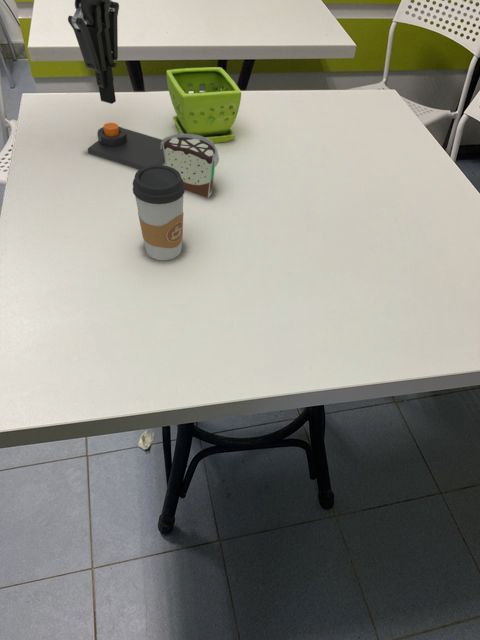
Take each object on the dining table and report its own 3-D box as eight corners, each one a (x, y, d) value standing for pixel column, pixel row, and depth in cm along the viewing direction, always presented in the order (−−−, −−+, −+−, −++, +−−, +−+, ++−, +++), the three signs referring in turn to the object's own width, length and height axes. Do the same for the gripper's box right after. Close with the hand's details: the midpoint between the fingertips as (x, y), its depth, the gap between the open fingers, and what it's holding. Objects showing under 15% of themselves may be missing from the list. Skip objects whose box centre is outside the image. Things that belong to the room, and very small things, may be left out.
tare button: (101, 134, 109) (100, 127, 107) (109, 129, 111) (108, 121, 109) (114, 138, 108) (112, 130, 107) (122, 132, 110) (121, 125, 109)
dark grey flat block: (86, 155, 109) (83, 139, 106) (117, 132, 116) (115, 118, 114) (152, 175, 106) (150, 160, 103) (179, 151, 113) (178, 137, 110)
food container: (228, 188, 105) (230, 143, 97) (214, 202, 101) (215, 156, 94) (178, 171, 108) (176, 126, 100) (163, 184, 104) (159, 138, 96)
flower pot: (183, 152, 113) (181, 95, 103) (167, 124, 121) (164, 68, 111) (240, 146, 117) (243, 90, 108) (221, 119, 125) (222, 65, 116)
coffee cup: (164, 273, 86) (157, 197, 75) (130, 252, 89) (119, 176, 77) (196, 251, 91) (195, 177, 79) (163, 232, 93) (157, 157, 82)
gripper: (82, -26, 81) (105, 117, 99) (125, -41, 90) (140, 94, 107) (44, -34, 83) (74, 108, 101) (90, -49, 91) (110, 86, 109)
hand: (108, 101), depth 104 cm, fingers closed
